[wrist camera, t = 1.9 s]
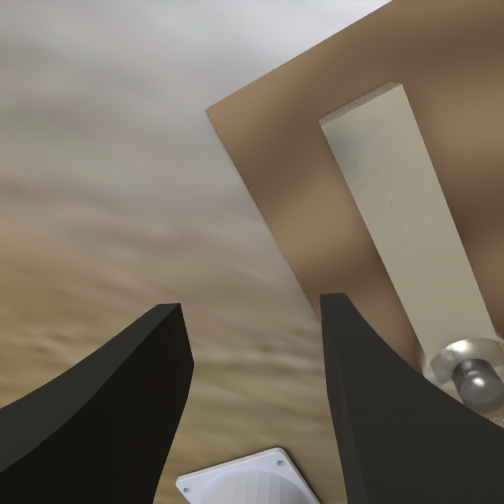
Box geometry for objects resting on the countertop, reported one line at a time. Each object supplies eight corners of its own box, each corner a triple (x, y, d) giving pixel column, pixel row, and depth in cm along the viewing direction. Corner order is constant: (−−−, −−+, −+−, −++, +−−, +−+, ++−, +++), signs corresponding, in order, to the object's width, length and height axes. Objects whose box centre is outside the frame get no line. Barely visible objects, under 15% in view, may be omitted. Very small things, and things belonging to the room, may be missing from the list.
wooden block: (510, 363, 21) (547, 416, 17) (430, 388, 22) (452, 441, 19) (402, 74, 16) (428, 77, 13) (306, 125, 17) (309, 139, 14)
